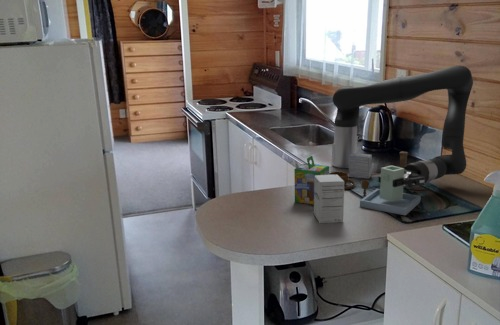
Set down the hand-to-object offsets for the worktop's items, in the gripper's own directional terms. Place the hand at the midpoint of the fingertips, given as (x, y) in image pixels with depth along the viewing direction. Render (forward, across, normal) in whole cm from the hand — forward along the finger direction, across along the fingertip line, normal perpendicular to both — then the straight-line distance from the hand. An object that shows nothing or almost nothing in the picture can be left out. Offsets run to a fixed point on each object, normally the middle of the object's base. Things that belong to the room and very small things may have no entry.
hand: (386, 181), depth 148 cm
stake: (-20, -10, +8) cm, 24 cm away
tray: (-3, 0, +8) cm, 8 cm away
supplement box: (+22, -3, +8) cm, 24 cm away
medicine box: (-19, -28, +8) cm, 35 cm away
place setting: (-2, -22, +9) cm, 23 cm away
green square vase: (-3, 0, +6) cm, 7 cm away
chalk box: (+15, -18, +8) cm, 25 cm away
